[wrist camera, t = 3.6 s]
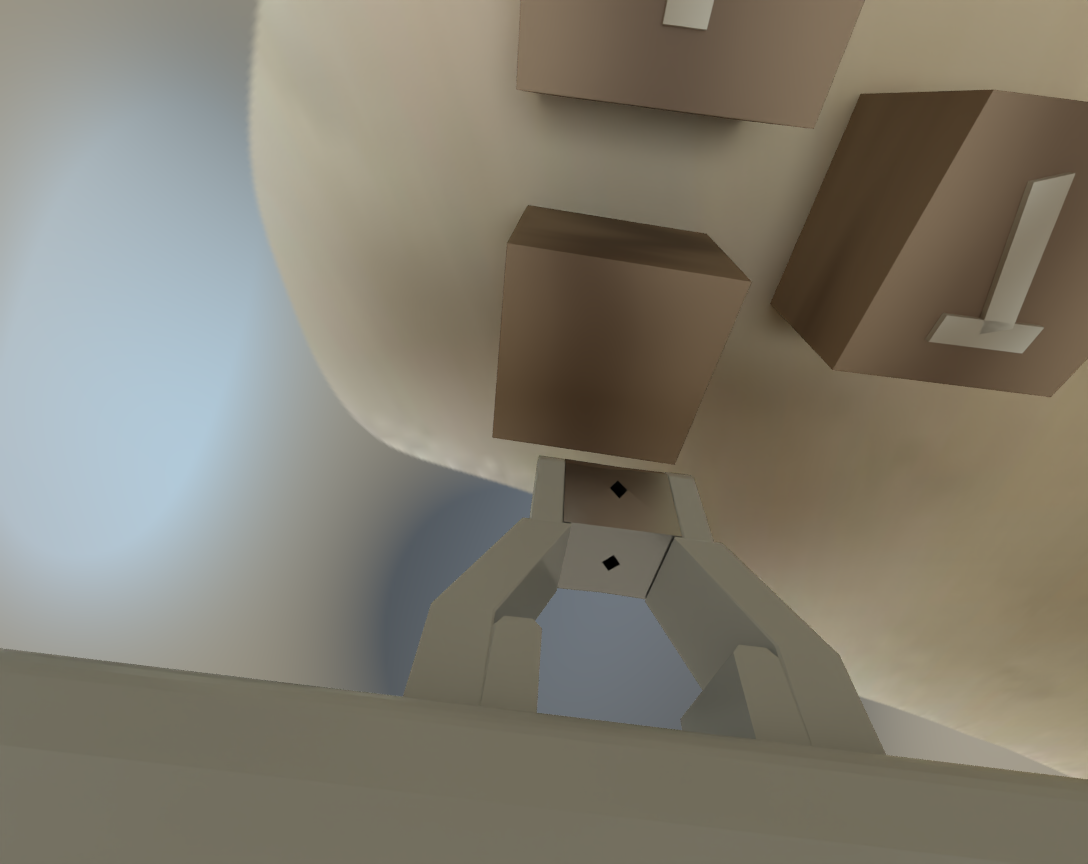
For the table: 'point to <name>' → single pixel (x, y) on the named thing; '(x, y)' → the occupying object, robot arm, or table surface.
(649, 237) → the plain block
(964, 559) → the table surface
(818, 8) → the numbered block 1
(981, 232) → the numbered block 7
